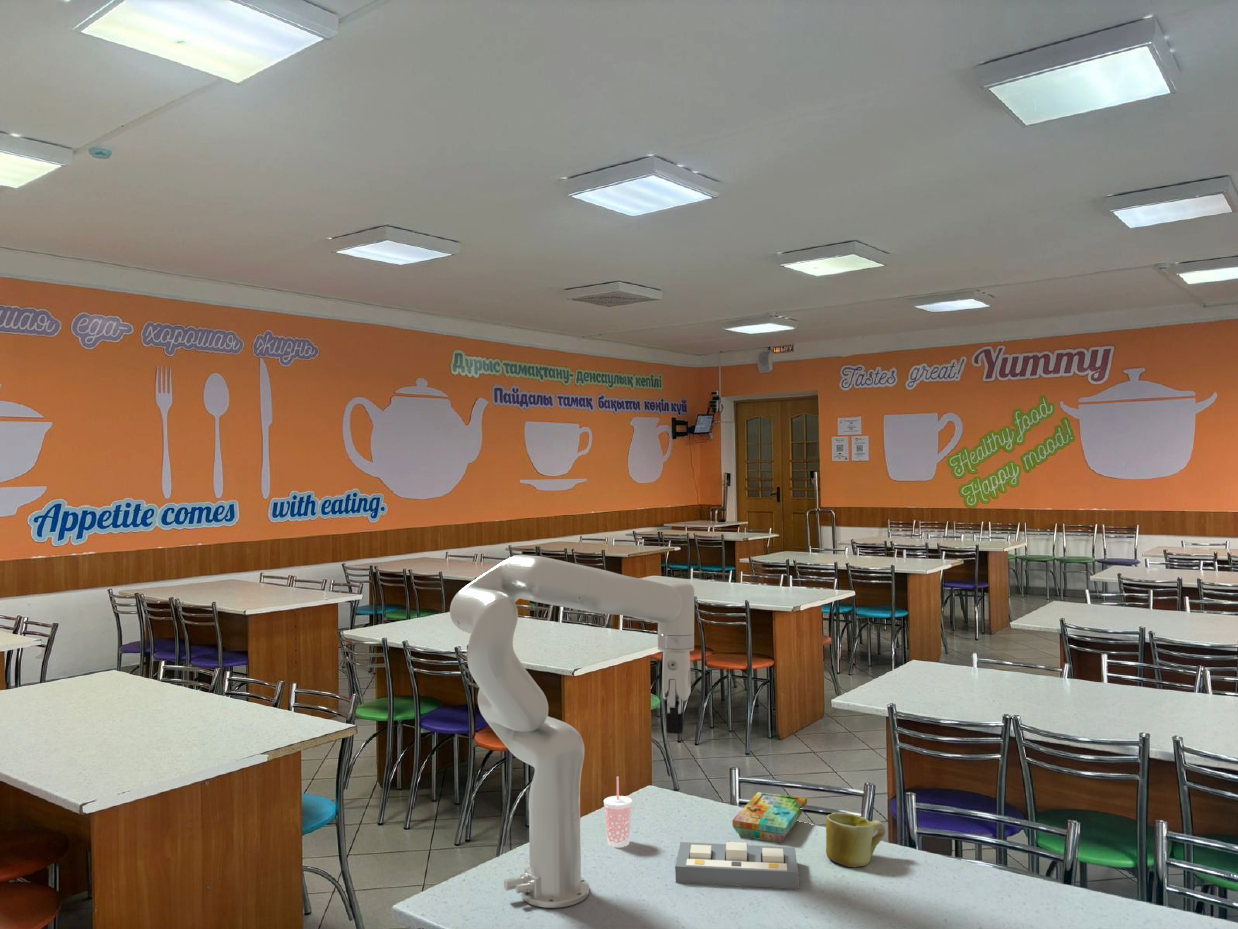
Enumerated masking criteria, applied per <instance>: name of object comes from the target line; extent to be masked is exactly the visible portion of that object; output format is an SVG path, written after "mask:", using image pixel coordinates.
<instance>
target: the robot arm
mask: <svg viewBox="0 0 1238 929" xmlns="http://www.w3.org/2000/svg"><path fill="white" fill-rule="evenodd" d="M520 599H521V600H524V601H525V600H526V601H531V602H533V603H534V602H535V603H540V604H546V605H552V606H557V607H561V608H562V607H563V608H566V609H567V608H568V609H573V610H578V611H584V612H590V613H596V614H601V615H602V614H603V615H605V614H606V615H616V616H617V615H618V616H625V617H631V618H634V619H639V620H644V621H650V622H655V623H656V622H657V650H658V651H662V671H661V672H662V675H661V677H662V678H661V679H662V682H661V683H662V685H661V687H662V690H661V692H662V699H664V701H666V702H667V703H666V704H667V705H666V707H667V708H666V709H667V710H666V733H668V734H679V735H681V734H682V733H683V731H684V712H683V707H684V706H683V705H684V702H685V701H687V700H688V699H689V696H690V695H691V691H692V690H691V688H692V687H691V654H690V652H693V651H694V650H695V587H694V586H693V585H692V583H688V582H683V581H682V582H681V581H680V582H676V581H675V582H674V581H669V582H662V583H661V582H657V581H652V580H648V579H643V578H638V577H634V576H628V575H624V574H620V573H617V572H613V571H609V570H605V569H601V568H597V567H593V566H587V565H584V564H578V563H573V562H570V561H569V562H568V561H564V560H560V559H555V558H550V557H546V556H541V555H529V554H528V555H527V554H515V555H513V556H510V557H507V558H506V559H504V560H503V561H501V562H499V563H498V564H497V565H495V566H494V567H491V568H490V569H488V571H486V572H484V573H483V574H481V575H480V576H478V577H477V578H476V579H473V581H471V582H469V583H468V584H466V585H465V586H464V587H462V588H461V589H460V590H459V591H458V592H456V594H455V595H454V597H453V598H452V600H451V603H450V606H449V614H450V615H449V616H450V619H451V621H452V623H453V624H454V626H455V627H457V628H458V630H461V631H463V632H465V633H467V634H470V636H469V640H468V645H467V658H466V659H467V662H466V663H467V667H468V670H469V673H470V675H471V676H472V679H473V680H474V681H475V683H476V685H477V686H478V688H479V689H478V693H477V706H478V708H479V712H480V715H481V716H482V717H483V719H484V720H485V722H486V723H487V724H488V726H489V727H490V728H491V730H493V732H494V733H495V735H496V736H497V737H498V738H499V740H500V741H501V743H503V744H504V746H505V747H506V748H507V749H508V751H509V752H510V753H511V754H512V755H513V756H514V757H515V758H517V759H518V760H519V761H520V762H521V761H522V762H523V763H525V764H527V765H529V766H531V767H533V768H534V774H533V777H532V781H531V784H530V786H529V794H528V818H529V820H528V821H529V822H528V823H529V824H528V825H529V827H528V829H529V830H528V831H529V832H528V833H529V835H528V836H529V837H528V838H529V866H528V867H524V873H521V874H520V876H517V877H511V878H506V879H504V880H503V885H504V891H506V892H507V891H508V892H509V891H511V890H515V892H516V894H520V895H521V898H522V899H523V900H524V901H525V902H526V903H528V904H530V905H531V906H535V907H538V908H546V909H547V908H550V909H557V908H565V907H566V908H567V907H569V906H574V905H576V904H578V903H580V902H582V901H584V900H585V899H586V898H587V897H588V895H589V893H590V884H589V882H588V880H586V879H585V878H584V877H582V876H581V874H582V872H581V870H582V868H581V867H582V866H581V864H582V863H581V861H582V860H581V858H582V856H581V853H582V852H581V850H582V849H581V779H582V771H583V766H584V759H585V744H584V740H583V738H582V735H581V733H580V732H579V731H578V730H577V729H576V728H575V727H574V726H572V725H571V724H569V723H567V722H565V721H562V720H560V719H557V718H555V717H551V716H549V702H548V699H547V696H546V695H545V693H544V691H543V690H542V689H541V687H540V686H539V685H538V684H537V682H536V681H535V680H534V678H533V677H532V676H531V674H530V673H529V672H528V670H527V669H526V668H525V666H524V665H523V664H522V662H521V661H520V659H519V658H518V656H517V655H516V652H515V650H514V636H515V631H516V628H517V624H518V620H519V612H518V607H517V605H516V602H517V601H518V600H520Z"/></svg>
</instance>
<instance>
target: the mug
mask: <svg viewBox="0 0 1238 929" xmlns="http://www.w3.org/2000/svg"><path fill="white" fill-rule="evenodd" d="M825 828H826V829H825V833H826V834H825V835H826V838H825V839H826V840H825V844H826V845H825V852H826V856H827V858H828V859H829V860H831V861H833V862H835V863H837V864H840V865H842V866H845V867H848V868H857V867H858V868H859V867H864V866H865V867H866V866H867V865H868V864H869V863H870V861H871V857H873V854H874V852H875V849H876V848H877V846H878V845H879V844H880V843H881V841H882V840H883V838H884V837H885V835H886V827H885V825H884V823H882V821H879V820H876V819H875V820H871V821H869V820H868V819H867V817H862V816H860V815H858V814H853V813H847V812H832V813H830V814H828V815H826V827H825ZM875 832H876V834H875V835H874V833H875Z"/></svg>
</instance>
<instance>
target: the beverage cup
mask: <svg viewBox="0 0 1238 929" xmlns="http://www.w3.org/2000/svg"><path fill="white" fill-rule="evenodd" d="M619 779H620V777H619V776H616V795H613V796H612V795H611V796H608V797H606V798H604V799H603V806H604V807H605V808H604V809H605V823H606V825H605V826H606V837H607V838H606V839H607V845H608V846H609V847H613V848H617V849H618V848H625V847H627V846H628V845H629V844H630V833H631V816H632V815H631V812H632V810H631V809H632V806H633V799H632V798H630V797H629V796H624V795H620V780H619ZM624 846H625V847H624Z"/></svg>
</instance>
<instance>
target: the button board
mask: <svg viewBox="0 0 1238 929" xmlns="http://www.w3.org/2000/svg"><path fill="white" fill-rule="evenodd" d="M691 845H711V853H712V860H704V859H690V849H691ZM762 848H778V849H783V855H784V863H765V862H763V860H762ZM796 852H797V851H796V847H792V846H773V845H772V846H771V845H770V846H769V845H755V844H753V845H749V844H747V862H745V861H726V843H725V844H724V843H710V842H707V843H706V842H687V841H685V842H684V841H680V843H679V847H678V852H677V857H676V862H675V870H674V871H675V872H674V873H675V883H678V884H679V883H680V884H681V883H682V884H697V883H700V885H702V884H703V885H718V886H737V887H738V886H741V887H756V888H757V887H758V888H774V889H775V888H776V889H789V890H790V889H793V890H794V889H796V890H798V889H799V869H798V862H797V853H796Z"/></svg>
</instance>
